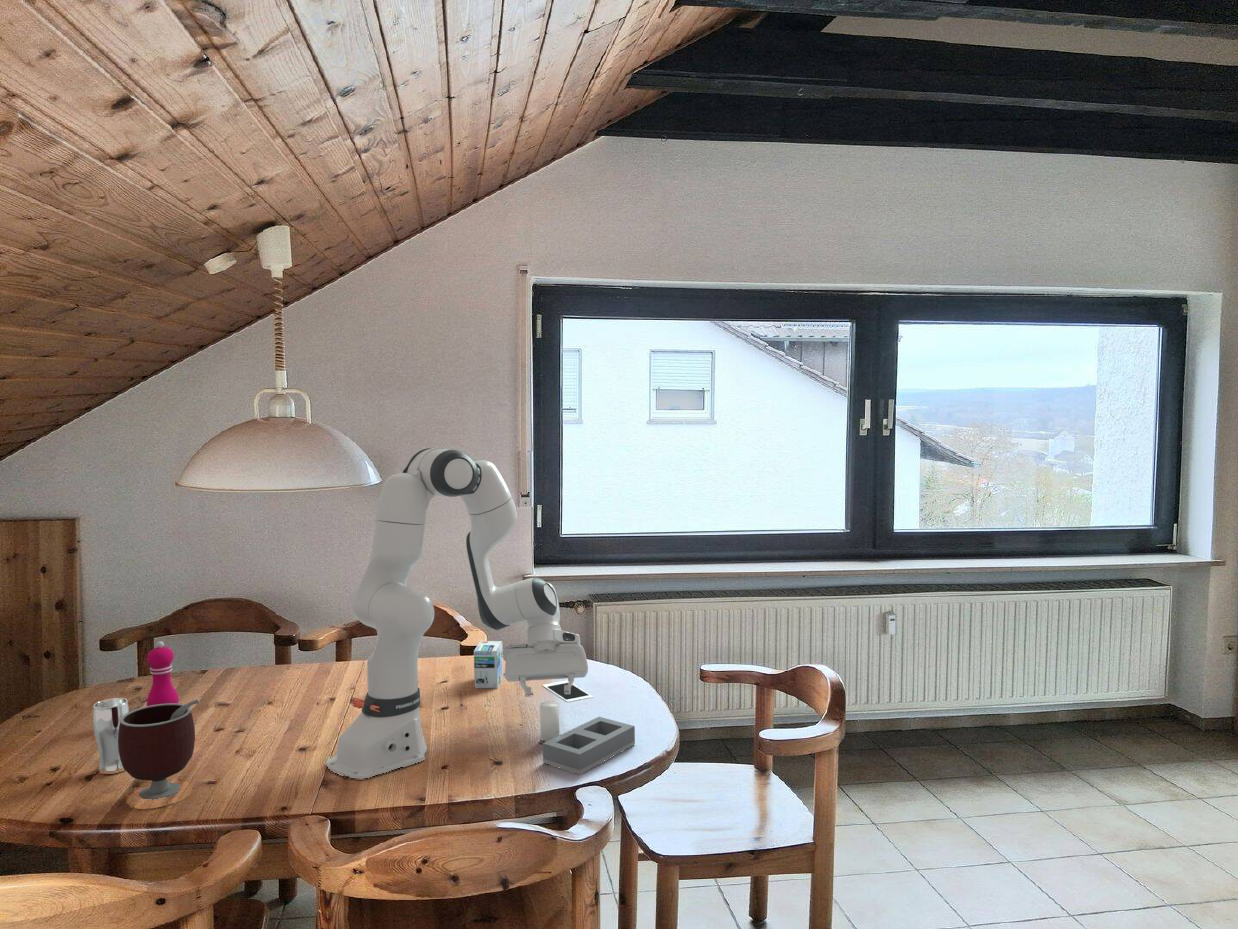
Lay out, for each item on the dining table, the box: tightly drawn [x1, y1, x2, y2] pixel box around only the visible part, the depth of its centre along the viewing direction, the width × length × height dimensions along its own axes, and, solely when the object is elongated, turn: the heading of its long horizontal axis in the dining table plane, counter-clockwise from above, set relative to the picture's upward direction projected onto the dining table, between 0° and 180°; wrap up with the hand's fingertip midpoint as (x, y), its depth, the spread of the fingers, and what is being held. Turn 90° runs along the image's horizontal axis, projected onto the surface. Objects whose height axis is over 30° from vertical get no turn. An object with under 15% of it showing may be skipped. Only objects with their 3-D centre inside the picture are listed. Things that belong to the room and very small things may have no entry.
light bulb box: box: [473, 640, 504, 689], centre depth 251 cm, size 11×7×11 cm, turn 179°
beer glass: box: [92, 697, 130, 772], centre depth 194 cm, size 7×7×15 cm
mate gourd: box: [118, 699, 199, 800], centre depth 181 cm, size 16×14×20 cm
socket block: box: [542, 716, 636, 775], centre depth 200 cm, size 20×10×4 cm, turn 143°
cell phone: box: [542, 680, 593, 703], centre depth 244 cm, size 8×16×1 cm, turn 30°
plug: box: [539, 700, 560, 742], centre depth 207 cm, size 4×4×9 cm
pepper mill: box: [146, 640, 180, 707], centre depth 226 cm, size 7×7×20 cm
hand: (548, 694), depth 212 cm, fingers open, 8 cm apart
